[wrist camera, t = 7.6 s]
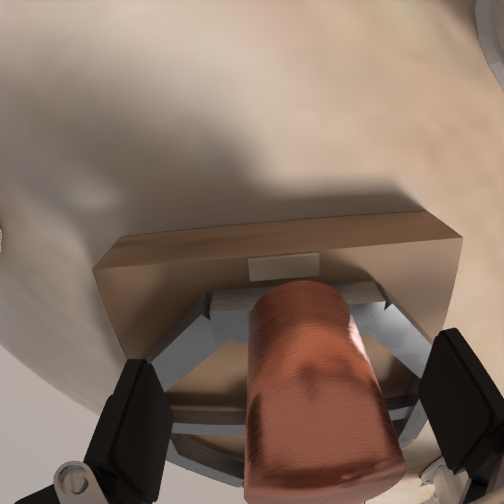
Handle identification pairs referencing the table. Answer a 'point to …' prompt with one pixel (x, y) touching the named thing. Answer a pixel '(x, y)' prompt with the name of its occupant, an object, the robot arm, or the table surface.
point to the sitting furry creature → (0, 239)
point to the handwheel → (300, 390)
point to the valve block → (272, 275)
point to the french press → (492, 34)
